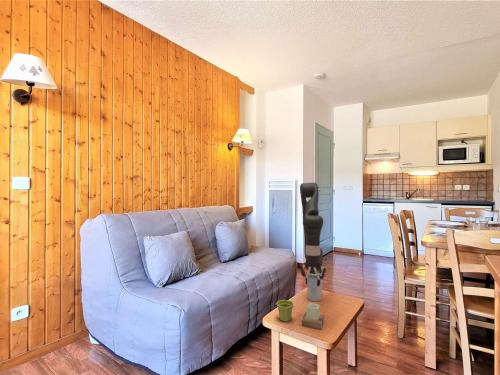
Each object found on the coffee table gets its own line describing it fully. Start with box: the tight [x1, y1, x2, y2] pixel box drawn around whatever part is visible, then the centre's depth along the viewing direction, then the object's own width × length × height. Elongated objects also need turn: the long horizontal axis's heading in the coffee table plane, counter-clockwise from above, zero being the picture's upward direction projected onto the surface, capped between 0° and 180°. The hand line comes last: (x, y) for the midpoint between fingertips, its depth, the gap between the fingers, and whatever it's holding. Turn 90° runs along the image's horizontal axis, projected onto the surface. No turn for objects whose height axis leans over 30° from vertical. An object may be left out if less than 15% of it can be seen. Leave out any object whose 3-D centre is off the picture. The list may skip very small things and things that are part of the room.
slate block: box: [306, 275, 318, 289], centre depth 149 cm, size 5×5×5 cm
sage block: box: [305, 302, 321, 321], centre depth 149 cm, size 6×6×6 cm
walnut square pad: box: [301, 312, 325, 331], centre depth 149 cm, size 10×10×3 cm
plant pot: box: [276, 299, 295, 323], centre depth 154 cm, size 9×9×9 cm
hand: (312, 285), depth 149 cm, fingers closed on slate block, 5 cm apart
